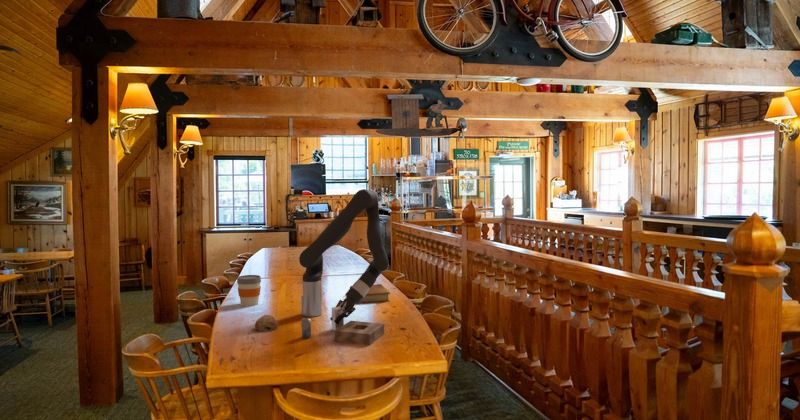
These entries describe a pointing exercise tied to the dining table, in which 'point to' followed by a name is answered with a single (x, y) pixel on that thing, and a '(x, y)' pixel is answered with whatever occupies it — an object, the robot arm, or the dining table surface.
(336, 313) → the square bit
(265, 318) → the bread roll
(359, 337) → the socket block
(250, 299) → the reusable coffee cup
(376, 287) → the diary
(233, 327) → the dining table surface
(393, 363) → the dining table surface
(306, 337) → the round bit
